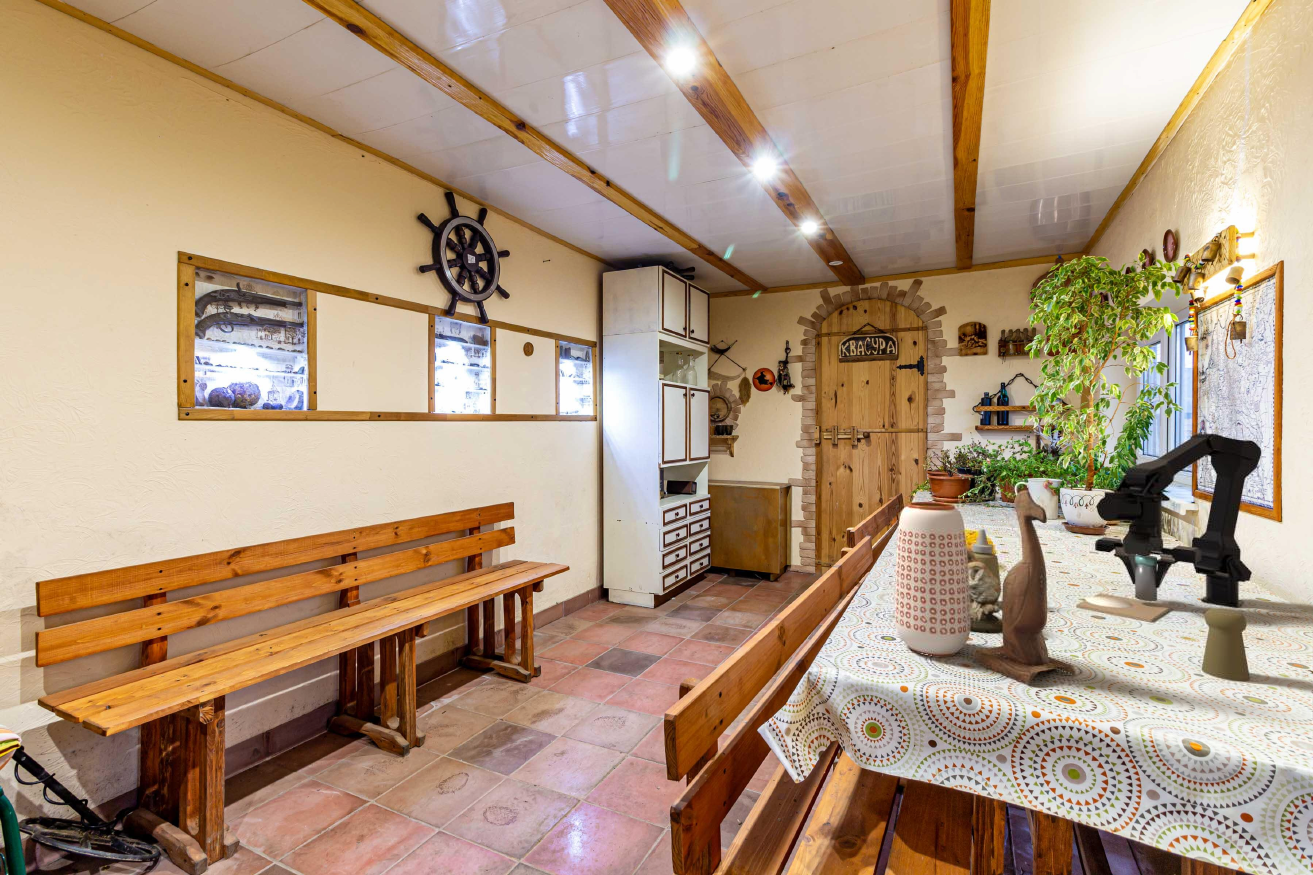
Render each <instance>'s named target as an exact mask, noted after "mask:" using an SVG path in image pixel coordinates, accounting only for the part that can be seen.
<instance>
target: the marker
mask: <svg viewBox="0 0 1313 875" xmlns="http://www.w3.org/2000/svg"><path fill="white" fill-rule="evenodd" d="M1157 560H1158V557H1157V556H1156V555H1155V556H1153V555H1149V556H1141V555H1135V584H1134V596H1135V597H1134V598H1135V599H1136V600H1142V601H1148V602H1156V601H1158V588H1156V576H1157V567H1158V565H1157Z"/></svg>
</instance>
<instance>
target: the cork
mask: <svg viewBox="0 0 1313 875" xmlns="http://www.w3.org/2000/svg"><path fill="white" fill-rule="evenodd" d="M1204 620H1205V624H1206V625H1207V627H1208V632H1207V638H1206V642H1205V648H1204V654H1203V660H1202V666H1201V671H1202V672H1204V674H1207V675H1209V676H1212V677H1215V678H1217V679H1223V680H1227V681H1234V682H1235V681H1236V682H1248V681H1250V680H1251V677H1250V671H1249V665H1248V659H1247V653H1246V648H1245V643H1244V638H1243V637H1244V636H1243V632H1245V630H1246V628H1247V625H1248V624H1247V623H1248V622H1247V619H1246V617H1245V616H1244V615H1243V614H1241V612H1237V611H1235V610H1231V609H1225V608H1210V609H1208V610H1207V611H1206V612H1205V614H1204Z"/></svg>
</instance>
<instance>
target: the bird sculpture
mask: <svg viewBox="0 0 1313 875" xmlns="http://www.w3.org/2000/svg"><path fill="white" fill-rule="evenodd" d="M1013 507H1014V509H1015V512H1016V517H1017V521H1018V525H1019V531H1020V537H1021V553H1022V554H1021V555H1022V559H1021V560H1019V561H1018V562H1017V563H1015V565H1013V566H1012V567H1011V568H1010V570H1008V572H1007V574H1006V576H1005V577H1004V579H1003V583H1002V596H1001V597H1002V599H1001V600H1002V601H1001V619H1002V620H1001V621H1002V624H1003V631H1002V645H1001V646H993V647H988V648H983V649H976V650H975V651H974V653H973V654H972V657H973V658H974V659H973V664H975V663H977V665H978V664H979V665H982V666H983V667H985V668H986V669H991V670H992V671H993V670H994V671H993V672H996V673H998V674H1001V675H1003V676H1005V677H1006V676H1007V677H1008V678H1010V679H1012V680H1015V681H1018V682H1020V683H1023V684H1026V685H1027V686H1029V685H1030V683H1031V681H1032V680H1033V679H1034V677H1035V676H1036V675H1037V674H1038V673H1039V672H1041V671H1043V672H1045V671H1049V670H1053V669H1057V670H1059V671H1060V672H1065V673H1066V674H1069V675H1072V676H1075V677H1076V675H1077V671H1076V670H1077V669H1076V667H1075V666H1074V665H1073V664H1070V663H1067V662H1065V661H1061V660H1058V659H1055V658H1053V657H1050V656H1049V651H1048V647H1047V643H1046V639H1045V637H1044V634H1043V630H1044V629H1045V628H1046V625H1047V622H1048V592H1047V590H1048V588H1047V587H1048V583H1047V580H1048V579H1047V567H1046V562H1045V558H1044V557H1045V556H1044V553H1043V549H1042V546H1041V543H1040V539H1039V536H1038V534H1037V530H1036V527H1035V526H1034V523H1033V522H1035V521H1038V522H1040V523H1042V524H1046V523H1047V522H1048V517H1047V512H1046V510H1045V508H1044V507H1042V506H1041V505H1040V504H1038V503H1036V502H1035V500H1034V499H1033V497H1032V495H1031V493H1030V491H1029V490H1025V489H1024V490H1022V491H1019V492H1018V494H1016V496H1015V499H1014V502H1013Z"/></svg>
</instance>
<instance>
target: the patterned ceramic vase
mask: <svg viewBox="0 0 1313 875" xmlns="http://www.w3.org/2000/svg"><path fill="white" fill-rule="evenodd" d="M898 521H899V522H898V531H897V532H898V533H897V541H896V542H897V543H896V559H895V560H896V561H895V584H894V585H895V587H894V588H895V590H894V591H895V592H894V625H895V629H896V631H897V634H898V635H899V637H900V639H901V640H902V641H903V643H904V644H906V646H907V647H909V648H910V649H909V648H908V649H909V650H911V649H912V650H914V651H916V652H915V653H917V652H919V653H923V654H928V655H932V656H931V657H934V656H940V657H939V658H945V657H946V658H947V656H949V657H953V656H955V655H957V653H958V652H959V651H961V649H962V648H963V647H964V646H965V645H966V644H967V642H968V641H969V637H970V633H971V631H970V597H969V574H968V559H967V547H968V545H967V539H966V538H967V536H966V529H965V523H964V518H963V516H962V513H961V512H960V511H959V509H957V508H956V506H955V505H954V504H953V503H946V502H940V501H938V502H937V501H915V502H914V501H913V502H909V503H907V506H905V507H904V508H903V509H902V511H901V513H900V516H899V520H898ZM912 650H911V651H912ZM914 651H913V652H914ZM919 653H918V654H919ZM923 654H922V655H923Z"/></svg>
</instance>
